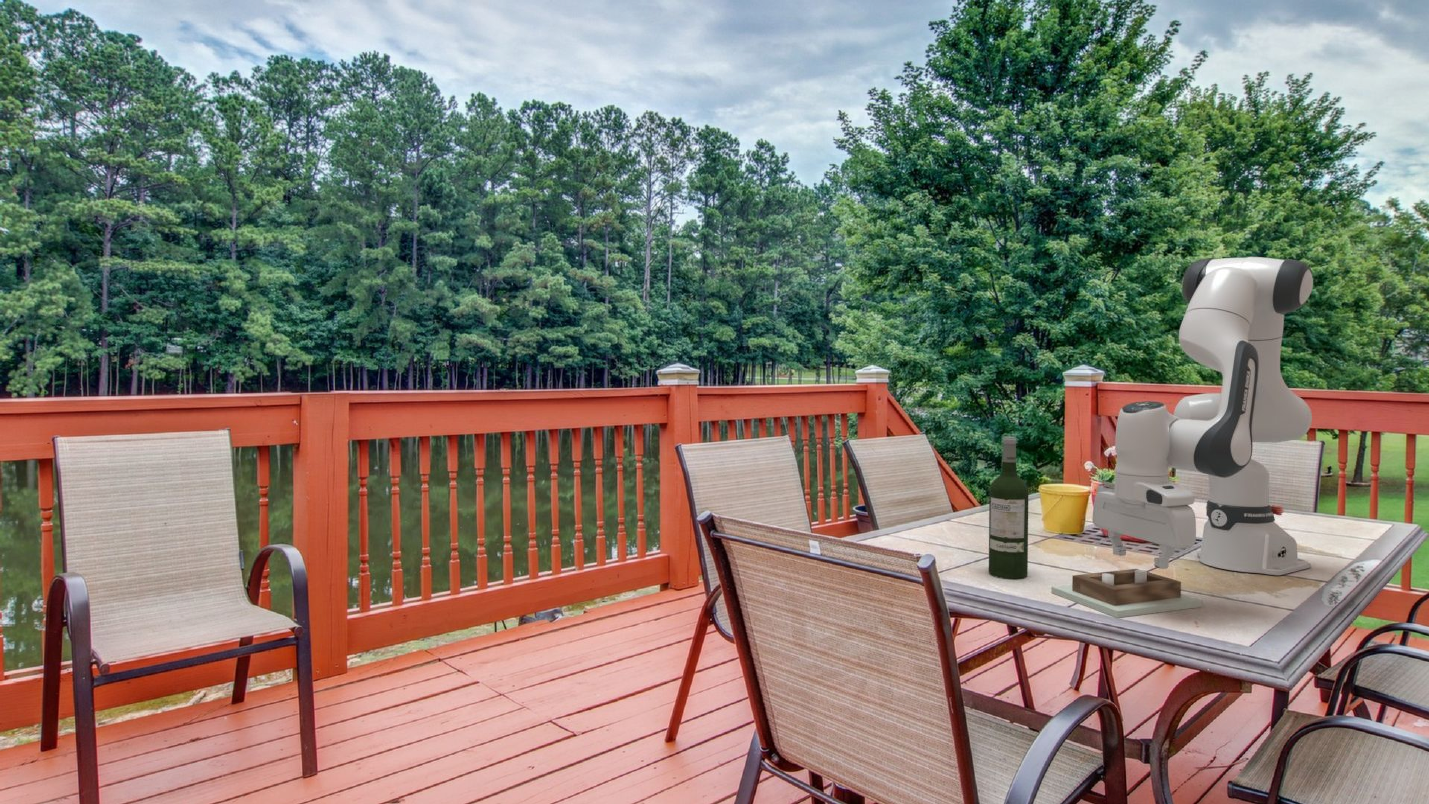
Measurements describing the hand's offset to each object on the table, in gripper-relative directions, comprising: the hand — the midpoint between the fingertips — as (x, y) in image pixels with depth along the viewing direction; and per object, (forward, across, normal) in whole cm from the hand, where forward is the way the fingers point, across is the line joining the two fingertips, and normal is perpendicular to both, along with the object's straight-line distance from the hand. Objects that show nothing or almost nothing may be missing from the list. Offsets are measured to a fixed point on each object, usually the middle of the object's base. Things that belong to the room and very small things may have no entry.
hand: (1139, 561), depth 139 cm
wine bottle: (+9, -25, -10) cm, 28 cm away
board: (+8, -3, 0) cm, 9 cm away
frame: (+7, -3, 0) cm, 8 cm away
